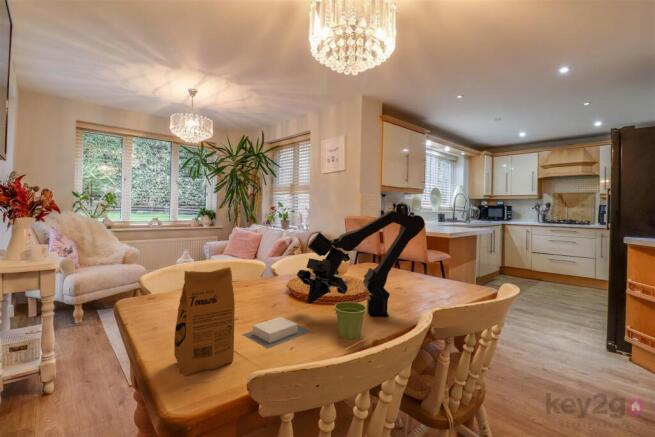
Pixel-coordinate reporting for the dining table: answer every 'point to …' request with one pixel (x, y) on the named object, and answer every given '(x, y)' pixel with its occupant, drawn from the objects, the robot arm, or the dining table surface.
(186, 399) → the dining table surface
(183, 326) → the coffee package
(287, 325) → the white flat block
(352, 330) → the plant pot
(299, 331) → the mat
